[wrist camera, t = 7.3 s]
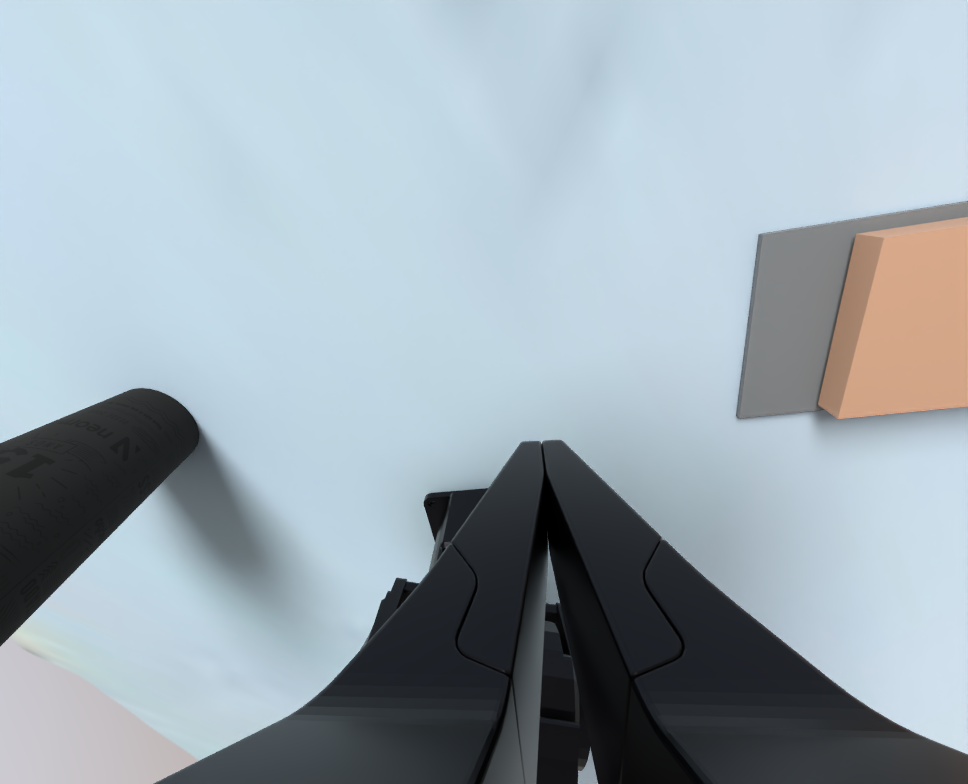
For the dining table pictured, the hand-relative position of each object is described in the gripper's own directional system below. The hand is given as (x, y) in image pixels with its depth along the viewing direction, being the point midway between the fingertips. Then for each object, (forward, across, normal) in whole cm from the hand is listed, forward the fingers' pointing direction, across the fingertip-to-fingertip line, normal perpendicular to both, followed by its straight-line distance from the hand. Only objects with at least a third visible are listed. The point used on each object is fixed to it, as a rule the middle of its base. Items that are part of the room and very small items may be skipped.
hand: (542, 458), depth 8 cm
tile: (+11, -14, +2) cm, 18 cm away
